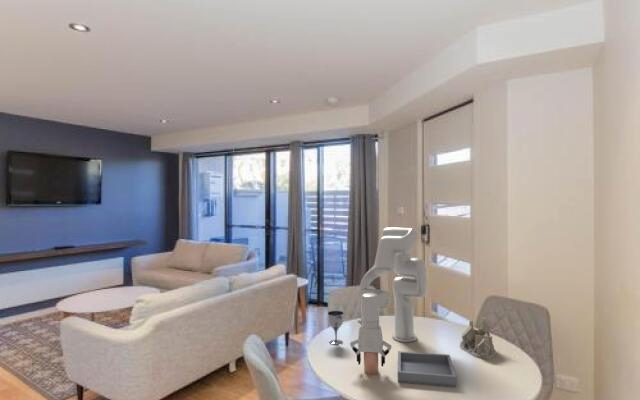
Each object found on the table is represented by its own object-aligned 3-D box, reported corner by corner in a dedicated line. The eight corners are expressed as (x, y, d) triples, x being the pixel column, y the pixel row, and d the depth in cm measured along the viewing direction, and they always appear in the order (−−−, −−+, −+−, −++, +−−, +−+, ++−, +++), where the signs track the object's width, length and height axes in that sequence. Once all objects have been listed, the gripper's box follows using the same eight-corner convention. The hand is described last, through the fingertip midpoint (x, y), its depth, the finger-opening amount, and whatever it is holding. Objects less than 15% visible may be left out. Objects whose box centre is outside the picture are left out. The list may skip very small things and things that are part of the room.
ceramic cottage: (462, 341, 183) (462, 312, 182) (498, 349, 174) (499, 319, 173) (454, 354, 170) (454, 323, 169) (492, 364, 161) (493, 331, 160)
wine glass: (342, 346, 180) (342, 315, 180) (327, 345, 182) (326, 315, 182) (344, 339, 188) (344, 310, 188) (329, 338, 190) (329, 310, 190)
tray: (398, 360, 164) (398, 351, 164) (449, 363, 159) (449, 354, 159) (397, 382, 144) (397, 372, 144) (456, 387, 139) (456, 376, 139)
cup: (364, 367, 157) (364, 346, 157) (378, 368, 156) (378, 347, 156) (363, 374, 151) (363, 352, 151) (378, 375, 150) (377, 353, 150)
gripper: (348, 325, 151) (349, 366, 151) (390, 327, 148) (391, 370, 147) (351, 319, 159) (351, 358, 159) (391, 321, 155) (392, 362, 155)
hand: (370, 364), depth 153 cm, fingers open, 9 cm apart
